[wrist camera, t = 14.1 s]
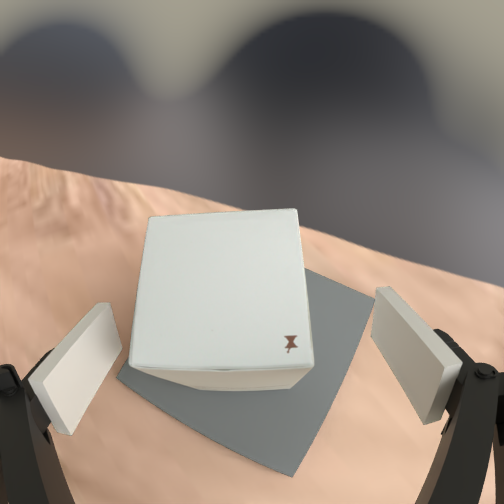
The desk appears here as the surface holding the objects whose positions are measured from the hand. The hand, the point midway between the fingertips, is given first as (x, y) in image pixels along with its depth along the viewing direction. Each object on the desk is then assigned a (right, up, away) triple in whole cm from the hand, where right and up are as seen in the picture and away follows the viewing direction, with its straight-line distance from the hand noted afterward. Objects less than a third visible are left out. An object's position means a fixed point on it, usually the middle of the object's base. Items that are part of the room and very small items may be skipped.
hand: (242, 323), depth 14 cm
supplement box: (0, -4, +9) cm, 10 cm away
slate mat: (0, -4, +10) cm, 11 cm away
